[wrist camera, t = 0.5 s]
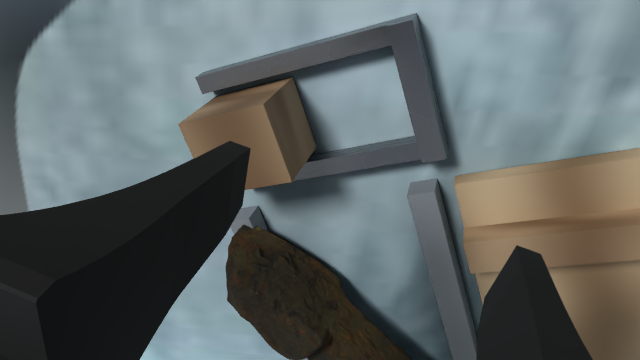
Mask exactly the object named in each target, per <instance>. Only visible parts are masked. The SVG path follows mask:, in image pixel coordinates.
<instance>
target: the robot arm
mask: <svg viewBox="0 0 640 360" xmlns="http://www.w3.org/2000/svg"><path fill="white" fill-rule="evenodd" d="M250 150H251V148H249V147H246V146H243V145H240V144H238V143H235V142H232V141H228V142H226V143H224V144H222V145H220V146H218V147H216V148H214V149H212V150H210V151H208V152H206V153H204V154H202V155H200V156H198V157H196V158H194V159H192V160H190V161H188V162H186V163H184V164H182V165H180V166H178V167H175V168H173V169H171V170H169V171H167V172H165V173H162V174H160V175H158V176H155V177H153V178H150V179H148V180H146V181H143V182H141V183H138V184H136V185H133V186H130V187H127V188H124V189H121V190H118V191H115V192H112V193H109V194H106V195H102V196H99V197H95V198H91V199H87V200H83V201H79V202H75V203H70V204H66V205H62V206H57V207H52V208H47V209H41V210H35V211H29V212H23V213H15V214H9V215H0V360H140V358H141V356H142V354H143V353H144V351H145V349H146V348H147V346H148V344H149V343H150V341H151V339H152V337H153V336H154V334H155V332H156V331H157V329H158V328H159V326H160V324H161V323H162V321H163V319H164V318H165V316H166V314H167V313H168V311H169V310H170V308H171V306H172V305H173V304H174V302H175V301H176V299H177V298H178V296H179V295H180V294H181V292H182V291H183V290H184V288H185V287H186V286H187V284H188V283H189V282H190V281H191V279H192V278H193V277H194V275H195V274H196V273H197V272H198V270H199V269H200V268H201V266H202V265H203V264H204V262H205V261H206V260H207V259H208V257H209V256H210V255H211V253H212V252H213V251H214V249H215V248H216V247H217V245H218V244H219V243H220V242H221V240H222V239H223V237H224V236H225V235H226V233H227V231H228V230H229V228H230V226H231V225H232V223H233V221H234V219H235V218H236V216H237V214H238V212H239V210H240V209H241V207H242V204H243V197H244V190H245V184H246V177H247V170H248V163H249V157H250ZM476 360H593V359H592V357H591V356H590V354H589V352H588V350H587V349H586V347H585V345H584V343H583V342H582V340H581V338H580V336H579V334H578V332H577V330H576V328H575V326H574V324H573V323H572V320H571V318H570V316H569V314H568V312H567V310H566V308H565V306H564V304H563V302H562V300H561V298H560V295H559V293H558V291H557V289H556V287H555V284H554V282H553V280H552V278H551V275H550V273H549V271H548V268H547V266H546V264H545V262H544V260H543V257H542V255H541V254H540V253H537V252H534V251H531V250H529V249H526V248H523V247H520V246H518V245H516V247H515V249H514V250H513V252H512V254H511V255H510V257H509V258H508V260H507V262H506V263H505V265H504V267H503V268H502V270H501V271H500V273H499V275H498V276H497V278H496V280H495V281H494V283H493V284H492V286H491V288H490V289H489V291H488V293H487V294H486V296H485V297H484V302H483V307H482V312H481V318H480V323H479V329H478V339H477V358H476Z"/></svg>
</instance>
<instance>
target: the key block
mask: <svg viewBox="0 0 640 360" xmlns="http://www.w3.org/2000/svg"><path fill="white" fill-rule="evenodd" d="M178 125H179V127H180V129H181V131H182V134H183V136H184V138H185V140H186V143H187V145H188V147H189V149H190V152H191V154H192V156H193V158H196V157H198V156H200V155H202V154H204V153H206V152H208V151H210V150H212V149H214V148H216V147H218V146H220V145H222V144H224V143H226V142H228V141H232V142H235V143H238V144H240V145H243V146H246V147H249V148H251V150H250V157H249V163H248V170H247V177H246V184H245V190H247V189H253V188H259V187H265V186H271V185H277V184H283V183H289V182H292V181H293V180H294V178H295V177H296V176H297V174H298V173H299V171H300V170H301V168H302V167H303V165H304V164H305V163H306V161H307V160H308V158H309V157H310V155H311V154H312V153H313V151H314V150H315V148H316V144H315V141H314V138H313V135H312V132H311V129H310V126H309V123H308V120H307V118H306V115H305V112H304V109H303V106H302V103H301V100H300V97H299V94H298V91H297V88H296V85H295V82H294V79H293V77H291V78H287V79H283V80H279V81H275V82H271V83H267V84H263V85H259V86H255V87H251V88H247V89H243V90H239V91H235V92H231V93H227V94H223V95H219V96H216V97H215V98H213V99H212V100H211V101H209V102H208V103H206V104H205V105H204V106H202V107H201V108H200V109H198V110H197V111H196V112H194V113H193V114H192V115H190V116H189V117H187V118H186V119H185V120H183V121H182V122H181V123H179V124H178Z"/></svg>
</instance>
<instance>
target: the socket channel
mask: <svg viewBox="0 0 640 360" xmlns="http://www.w3.org/2000/svg"><path fill="white" fill-rule="evenodd" d="M407 197H408V201H409V205H410V208H411V212H412V215H413V219H414V222H415V226H416V230H417V233H418V237H419V240H420V244H421V247H422V251H423V255H424V258H425V262H426V265H427V269H428V273H429V276H430V280H431V283H432V287H433V290H434V294H435V298H436V301H437V305H438V308H439V312H440V315H441V319H442V323H443V326H444V330H445V333H446V337H447V340H448V344H449V348H450V351H451V355H452V358H453V360H476V358H477V336H476V332H475V328H474V324H473V320H472V316H471V312H470V308H469V304H468V300H467V296H466V292H465V288H464V284H463V280H462V276H461V272H460V268H459V264H458V260H457V256H456V252H455V248H454V244H453V240H452V236H451V232H450V228H449V224H448V220H447V216H446V212H445V209H444V205H443V201H442V197H441V193H440V189H439V185H438V181H437V179H432V180H426V181H419V182H413V183H410V187H409V190H408V194H407ZM242 225H246V226H249V227H251V228H254V227H255V226H258V227H260V228H262V229H264V230H266V231H268V229H267V227H266V224H265V222H264V219H263V217H262V214H261V212H260V209H259V207H258V206H255V207H248V208H242V209H240V210H239V212H238V214H237V216H236V218H235V219H234V221H233V223H232V225H231V228H232V231H233V233H234V235H235V233H236V232H237V231H238V229H239V228H240V227H241V226H242ZM289 360H292V359H289ZM302 360H309V359H307V358H305V359H302Z"/></svg>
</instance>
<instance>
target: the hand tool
mask: <svg viewBox="0 0 640 360" xmlns="http://www.w3.org/2000/svg"><path fill="white" fill-rule="evenodd" d="M226 278H227V291H228V297H227V301H228V302H229V303H230V304H231V305H232V306H233V307H234V308H235V309H236V311H237V312H238V313H239V314H240V316H241V317H243V318H244V319H245V320H247V321H249V322H250V323H251V324H252V325H253V326H254V328H255V329H256V330H257V331H258V333H259V334H260V335H261V336H262V337H263V338H264V340H265V341H266V342H267V343H268V344H269V346H271V347H272V348H273V349H274V350H275V351H277V352H278V353H280V354H281V355H283V356H284V357H286V358H287V359H292V360H302V359H305V358H307V359H309V360H413V359H412V358H411V357H410V356H409V355H408V354H407V353H406V352H405V351H404V350H403V349H402V348H401V347H400V346H398V345H397V344H395V343H394V342H393V341H392V340H391V339H390V338H389V337H388V336H386V335H385V334H384V333H383V332H382V331H381V330H380V329H379V328H378V327H377V326H376V325H375V324H374V323H372V322H371V321H370V320H369V319H368V318H367V317H366V316H365V315H364V314H363V313H361V312H360V311H359V310H358V309H357V308H356V307H355V306H353V305H352V304H351V303H350V302H349V300H348V299H347V297H346V295H345V294H344V292H343V291H342V286H341V281H340V279H339V278H338V277H337V276H336V275H335V274H334V273H333V272H331V271H330V270H329V269H328V268H326V267H325V266H324V265H322V264H321V263H320V262H318V261H317V260H316V259H314V258H312V257H311V256H309V255H307V254H306V253H304V252H302V251H301V250H299V249H297V248H296V247H294V246H293V245H291V244H289V243H288V242H286V241H284V240H282V239H281V238H279V237H277V236H275V235H274V234H272V233H270V232H268V231H266V230H264V229H262V228H260V227H258V226H255V227H254V228H251V227H249V226H246V225H242V226H241V227H240V228H239V229H238V231H237V232H236V233H235V235H234V236H233V237H232V240H231V243H230V245H229V247H228V260H227V263H226Z"/></svg>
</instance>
